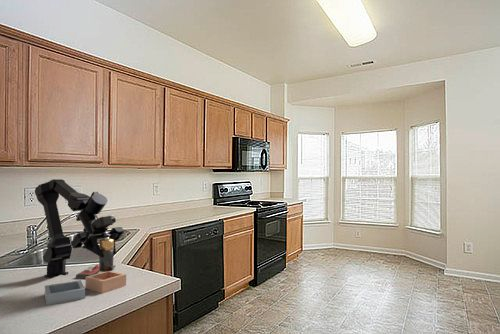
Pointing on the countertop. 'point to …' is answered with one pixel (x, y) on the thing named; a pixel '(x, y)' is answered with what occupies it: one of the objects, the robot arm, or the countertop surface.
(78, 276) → the walkie-talkie
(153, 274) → the countertop surface
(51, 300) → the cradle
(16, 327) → the countertop surface
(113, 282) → the bin
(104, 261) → the cell
